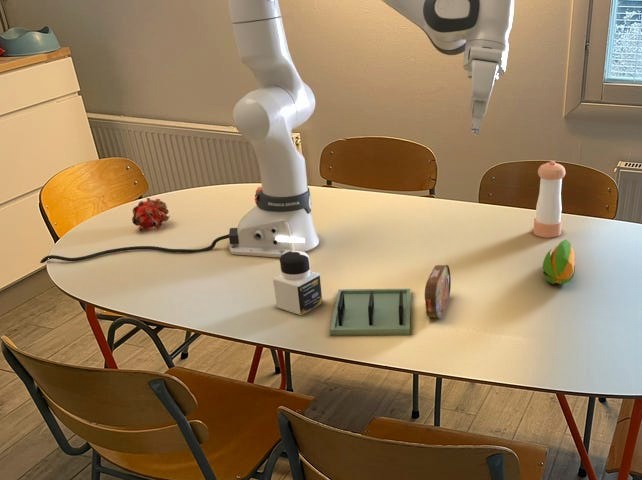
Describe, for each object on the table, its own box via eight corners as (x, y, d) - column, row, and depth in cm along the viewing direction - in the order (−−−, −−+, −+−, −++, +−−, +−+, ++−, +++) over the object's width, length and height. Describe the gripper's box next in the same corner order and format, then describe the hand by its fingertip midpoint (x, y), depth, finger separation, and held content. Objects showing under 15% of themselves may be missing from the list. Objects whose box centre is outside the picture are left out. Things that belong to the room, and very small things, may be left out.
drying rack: (330, 335, 149) (328, 314, 147) (338, 294, 165) (337, 274, 163) (409, 334, 150) (408, 313, 147) (410, 294, 166) (410, 273, 163)
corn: (542, 258, 164) (551, 226, 180) (537, 289, 168) (546, 255, 184) (575, 263, 162) (581, 230, 179) (570, 294, 167) (576, 259, 183)
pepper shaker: (565, 231, 199) (571, 160, 189) (553, 239, 193) (559, 167, 183) (540, 225, 202) (545, 155, 192) (528, 234, 197) (533, 162, 187)
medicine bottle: (301, 316, 157) (295, 263, 150) (276, 308, 160) (269, 256, 154) (323, 303, 162) (318, 252, 156) (298, 295, 165) (292, 245, 159)
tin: (437, 325, 153) (437, 288, 149) (422, 323, 154) (422, 287, 150) (452, 293, 166) (452, 258, 162) (438, 292, 167) (438, 257, 162)
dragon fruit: (173, 225, 206) (143, 246, 197) (149, 205, 205) (117, 225, 197) (180, 205, 199) (149, 226, 191) (155, 185, 199) (123, 205, 190)
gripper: (468, 71, 162) (459, 136, 164) (471, 45, 141) (461, 120, 143) (497, 75, 162) (488, 140, 164) (503, 50, 141) (493, 124, 143)
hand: (475, 130), depth 153 cm, fingers open, 8 cm apart
